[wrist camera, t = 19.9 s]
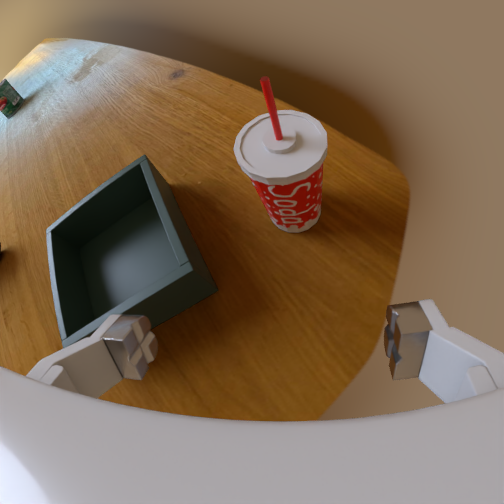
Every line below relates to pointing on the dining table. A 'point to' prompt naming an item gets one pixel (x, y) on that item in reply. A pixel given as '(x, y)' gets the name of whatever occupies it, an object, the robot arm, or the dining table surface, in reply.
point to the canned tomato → (9, 99)
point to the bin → (124, 255)
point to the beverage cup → (284, 163)
